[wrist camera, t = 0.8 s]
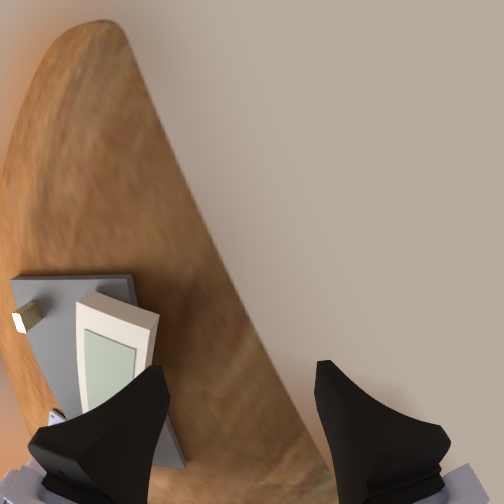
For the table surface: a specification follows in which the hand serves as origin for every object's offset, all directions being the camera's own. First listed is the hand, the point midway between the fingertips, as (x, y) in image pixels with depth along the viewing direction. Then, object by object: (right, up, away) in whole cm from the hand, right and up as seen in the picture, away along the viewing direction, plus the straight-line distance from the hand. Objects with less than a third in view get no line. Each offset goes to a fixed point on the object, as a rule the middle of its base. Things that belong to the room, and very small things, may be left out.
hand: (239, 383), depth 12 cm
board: (-13, -6, +8) cm, 16 cm away
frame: (-10, -6, +7) cm, 13 cm away
